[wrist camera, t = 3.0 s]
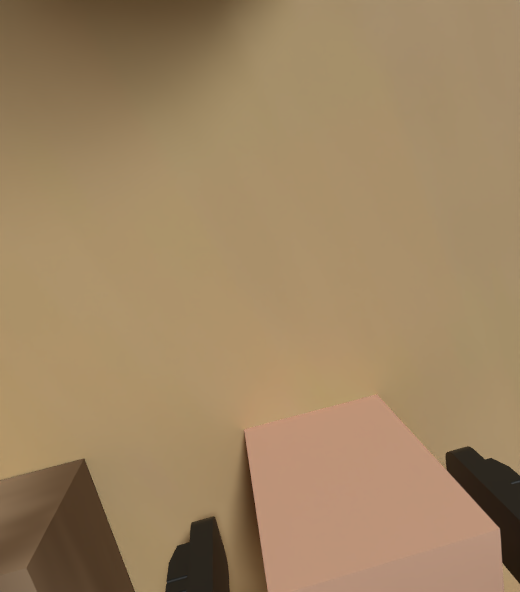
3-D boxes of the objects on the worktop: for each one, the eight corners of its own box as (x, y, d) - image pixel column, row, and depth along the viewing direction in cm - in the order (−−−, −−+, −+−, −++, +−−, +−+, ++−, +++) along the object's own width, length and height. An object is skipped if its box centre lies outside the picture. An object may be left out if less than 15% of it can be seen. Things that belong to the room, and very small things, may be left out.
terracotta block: (376, 393, 14) (500, 529, 8) (393, 504, 15) (511, 693, 9) (244, 428, 13) (268, 598, 7) (272, 539, 14) (312, 761, 9)
